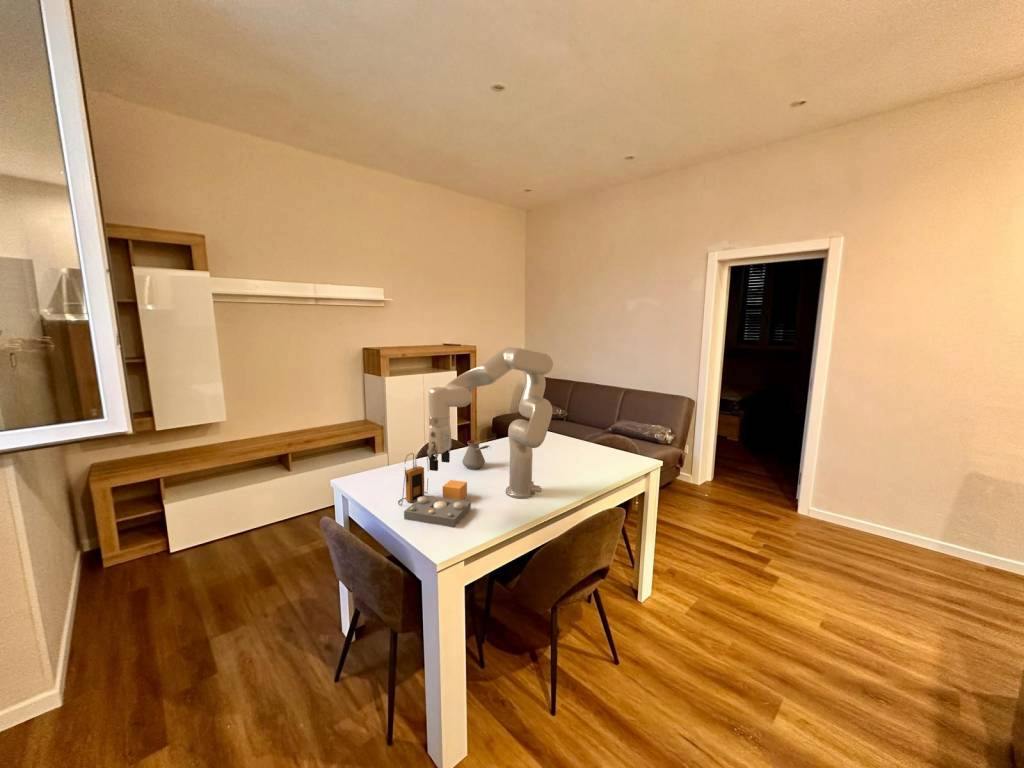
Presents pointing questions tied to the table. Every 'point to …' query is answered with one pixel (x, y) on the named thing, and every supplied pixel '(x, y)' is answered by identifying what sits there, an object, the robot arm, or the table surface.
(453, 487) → the orange block
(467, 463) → the coffee pot
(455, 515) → the grey flat block
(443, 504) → the button
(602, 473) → the table surface
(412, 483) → the multimeter
